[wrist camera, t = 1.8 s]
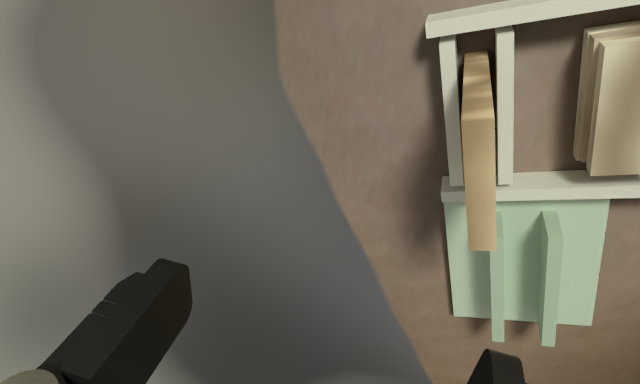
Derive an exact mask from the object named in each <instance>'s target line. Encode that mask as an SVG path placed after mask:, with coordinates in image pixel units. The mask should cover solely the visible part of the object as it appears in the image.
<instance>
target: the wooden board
mask: <svg viewBox="0 0 640 384" xmlns="http://www.w3.org/2000/svg"><path fill="white" fill-rule="evenodd" d="M461 129H462V146H463V163H464V181H465V198H466V215H467V232H468V249H469V251H497V232H496V165H495V117H494V107H493V98H492V89H491V79H490V70H489V60H488V51H487V50H485V51H478V52H471V53H465V57H464V76H463V96H462V115H461Z"/></svg>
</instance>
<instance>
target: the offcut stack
mask: <svg viewBox="0 0 640 384" xmlns="http://www.w3.org/2000/svg"><path fill="white" fill-rule="evenodd" d="M573 154H574V157H575V159H576V161H581V162H582V163H585V162H587V165H586V168H587V170H588V173H589V175H590V176H609V175H634V174H640V20H636V21H630V22H623V23H616V24H610V25H603V26H596V27H590V28H584V34H583V46H582V57H581V68H580V79H579V90H578V102H577V113H576V124H575V135H574V146H573Z"/></svg>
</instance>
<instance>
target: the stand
mask: <svg viewBox="0 0 640 384" xmlns="http://www.w3.org/2000/svg"><path fill="white" fill-rule="evenodd" d="M609 204H610V199H572V200H528V201H496V232H497V251H469V249H468V232H467V215H466V202H444V212H445V223H446V235H447V246H448V257H449V268H450V279H451V290H452V301H453V312H454V316H460V317H474V318H488V319H491V327H492V341H496V342H504V320H516V321H530V322H538V326H539V333H540V339H541V345H542V346H551V347H555V336H556V324H557V323H558V324H572V325H586V326H591V325H592V318H593V312H594V305H595V298H596V291H597V285H598V278H599V271H600V264H601V258H602V251H603V244H604V237H605V231H606V224H607V217H608V210H609Z"/></svg>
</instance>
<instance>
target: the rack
mask: <svg viewBox="0 0 640 384" xmlns="http://www.w3.org/2000/svg"><path fill="white" fill-rule="evenodd" d="M639 4H640V0H508V1H502V2H497V3H491V4H486V5H480V6H475V7H469V8H464V9H458V10H453V11H447V12H442V13H436V14H431V15H428V17H427V19H426V22H425V29H426V39H428V38H435V37H441V38H440V42H439V53H440V65H441V78H442V91H443V103H444V116H445V129H446V141H447V154H448V166H449V176H442V185H441V201H442V202H466V198H465V181H464V163H463V146H462V129H461V110H460V93H459V76H458V59H457V42H456V34H459V33H465V32H472V31H478V30H484V29H490V28H495V69H496V145H497V174H496V201H528V200H572V199H617V198H640V174H634V175H609V176H590V175H589V173H588V170H569V171H546V172H524V173H513V117H514V31H513V28H512V25H515V24H521V23H527V22H533V21H540V20H546V19H552V18H558V17H564V16H571V15H577V14H583V13H589V12H595V11H601V10H608V9H614V8H620V7H626V6H632V5H639Z"/></svg>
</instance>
